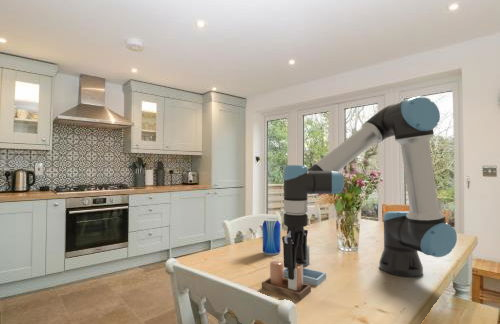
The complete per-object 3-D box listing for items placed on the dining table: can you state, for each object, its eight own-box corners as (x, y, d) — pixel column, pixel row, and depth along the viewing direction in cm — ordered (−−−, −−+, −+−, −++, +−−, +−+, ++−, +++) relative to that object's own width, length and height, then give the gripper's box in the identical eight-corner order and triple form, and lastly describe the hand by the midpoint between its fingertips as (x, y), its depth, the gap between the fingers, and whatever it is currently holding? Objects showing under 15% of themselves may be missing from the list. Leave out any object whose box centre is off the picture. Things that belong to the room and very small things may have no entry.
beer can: (279, 257, 126) (279, 221, 126) (261, 255, 127) (261, 220, 128) (281, 251, 134) (281, 218, 134) (264, 250, 136) (263, 217, 136)
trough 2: (326, 279, 100) (326, 272, 100) (317, 287, 94) (317, 279, 94) (291, 271, 109) (291, 264, 109) (281, 277, 102) (281, 270, 102)
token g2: (311, 264, 116) (311, 245, 116) (306, 267, 112) (306, 247, 112) (301, 262, 118) (301, 243, 119) (296, 265, 115) (296, 246, 115)
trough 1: (310, 293, 90) (310, 285, 90) (300, 302, 84) (300, 294, 84) (273, 282, 98) (273, 275, 98) (261, 290, 92) (261, 282, 92)
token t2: (304, 290, 89) (304, 265, 90) (298, 295, 86) (298, 269, 86) (292, 286, 92) (292, 262, 92) (285, 291, 88) (285, 266, 88)
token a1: (285, 286, 93) (285, 262, 94) (279, 291, 90) (279, 266, 90) (274, 283, 96) (274, 260, 96) (267, 287, 92) (267, 263, 93)
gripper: (296, 208, 98) (297, 275, 98) (271, 215, 85) (271, 292, 84) (317, 210, 94) (317, 280, 93) (293, 218, 80) (294, 299, 80)
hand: (295, 286), depth 89 cm, fingers closed on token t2, 4 cm apart
